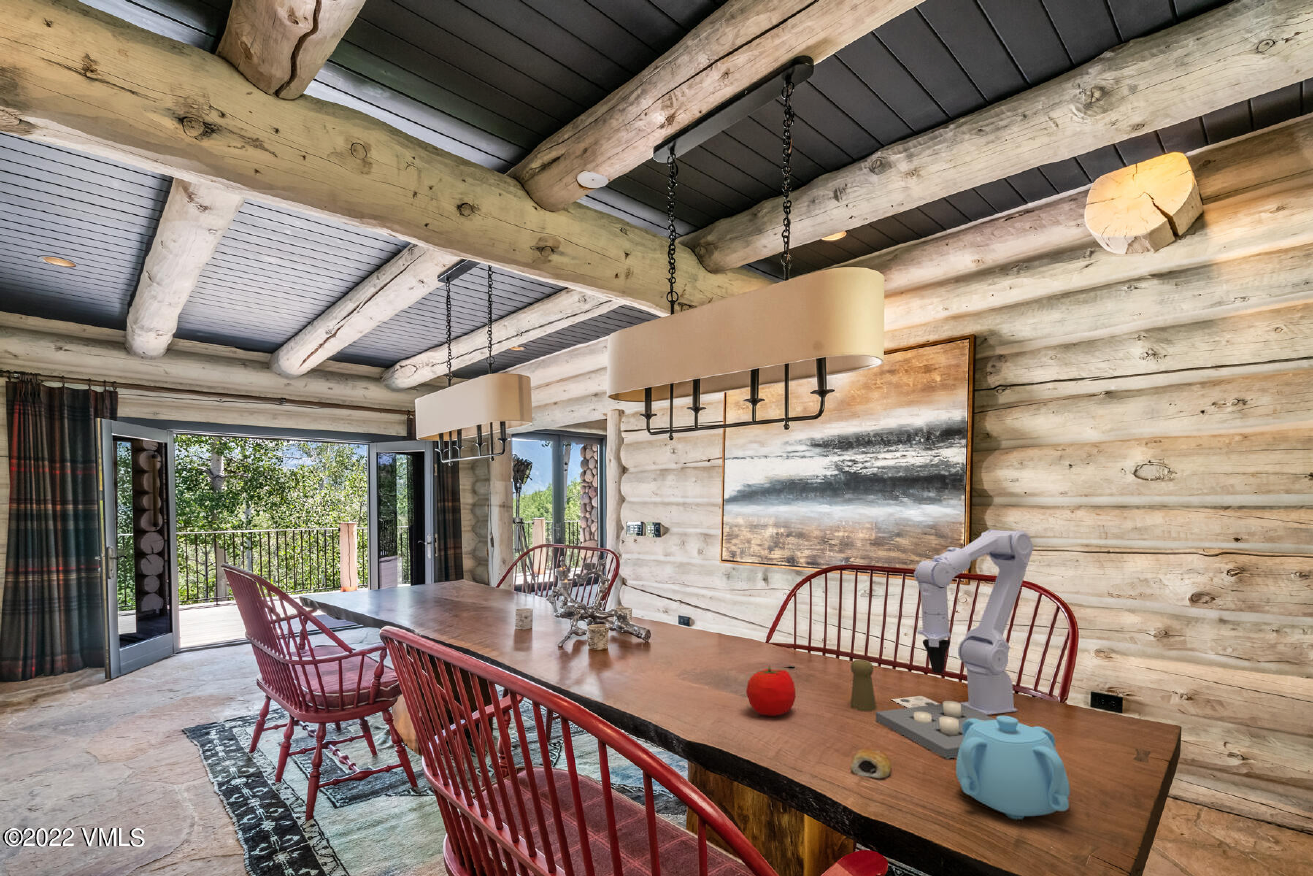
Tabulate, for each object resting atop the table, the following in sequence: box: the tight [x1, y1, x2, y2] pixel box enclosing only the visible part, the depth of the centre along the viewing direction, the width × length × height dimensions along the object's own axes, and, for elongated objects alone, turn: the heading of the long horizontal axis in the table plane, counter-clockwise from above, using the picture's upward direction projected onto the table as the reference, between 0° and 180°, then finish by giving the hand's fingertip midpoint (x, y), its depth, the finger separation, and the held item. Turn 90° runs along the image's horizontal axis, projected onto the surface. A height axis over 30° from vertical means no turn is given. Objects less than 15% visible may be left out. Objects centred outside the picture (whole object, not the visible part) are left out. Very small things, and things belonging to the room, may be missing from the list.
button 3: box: [914, 712, 932, 723], centre depth 135 cm, size 4×4×3 cm
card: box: [890, 695, 940, 708], centre depth 151 cm, size 9×8×1 cm
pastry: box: [850, 747, 892, 779], centre depth 115 cm, size 9×7×4 cm
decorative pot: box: [955, 715, 1071, 820], centre depth 102 cm, size 16×16×14 cm
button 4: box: [939, 716, 959, 737], centre depth 127 cm, size 4×4×3 cm
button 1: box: [942, 700, 962, 719], centre depth 137 cm, size 4×4×3 cm
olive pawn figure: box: [850, 659, 877, 712], centre depth 149 cm, size 6×6×11 cm
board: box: [875, 703, 996, 760], centre depth 132 cm, size 22×22×2 cm
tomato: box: [745, 665, 796, 717], centre depth 146 cm, size 11×13×10 cm
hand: (938, 672), depth 143 cm, fingers closed
